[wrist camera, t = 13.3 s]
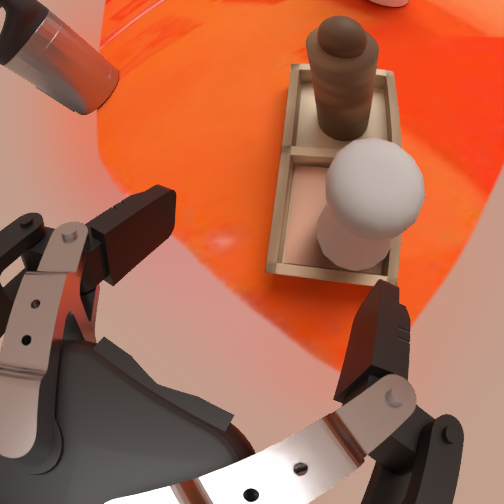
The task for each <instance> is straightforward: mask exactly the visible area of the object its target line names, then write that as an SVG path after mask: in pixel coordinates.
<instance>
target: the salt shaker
mask: <svg viewBox="0 0 504 504" xmlns="http://www.w3.org/2000/svg"><path fill="white" fill-rule="evenodd" d="M424 198H425V193H424V180H423V175H422V173H421V171H420V170H419V168H418V166H417V164H416V162H415V161H414V159H413V157H412V156H410V155H409V154H408V153H407V152H406V151H404V150H403V149H402V148H401V147H399V146H398V145H397V144H396V143H393V142H389V141H385V140H382V139H378V138H368V139H360V140H354V141H352V142H351V143H350V144H348V145H347V146H345V147H344V148H342V149H341V150H340V151H338V152H337V154H336V156H335V158H334V160H333V161H332V163H331V165H330V167H329V169H328V171H327V173H326V200H327V202H328V203H327V204H326V205H325V207H324V209H323V210H322V212H321V214H320V216H319V218H318V219H317V239H318V241H319V244H320V247H321V249H322V252H323V254H324V255H325V256H326V257H327V258H329V259H330V260H331V261H332V262H333V263H334V264H335V265H337V266H339V267H342V268H345V269H348V270H351V271H358V270H363V269H369V268H372V267H374V266H375V265H376V264H378V263H379V262H380V261H382V260H383V259H384V258H385V257H386V255H387V253H388V251H389V249H390V247H391V245H392V243H393V240H394V238H395V237H397V236H399V235H400V234H401V233H402V232H404V231H405V230H406V229H408V228H409V227H410V226H411V225H413V224H414V223H415V221H416V219H417V216H418V214H419V211H420V209H421V206H422V204H423V201H424Z"/></svg>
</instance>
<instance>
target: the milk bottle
mask: <svg viewBox="0 0 504 504" xmlns="http://www.w3.org/2000/svg"><path fill="white" fill-rule="evenodd" d="M369 1H371V2H374V3H376V4H380V5H384V6H390V7H400V6H404V5H406V4H407V3H408V1H409V0H369Z"/></svg>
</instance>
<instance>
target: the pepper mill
mask: <svg viewBox="0 0 504 504" xmlns="http://www.w3.org/2000/svg"><path fill="white" fill-rule="evenodd" d="M306 47H307V53H308V58H309V64H310V70H311V76H312V82H313V89H314V96H315V103H316V110H317V118H318V124H319V126H320V128H321V130H322V131H323V132H324V133H325V134H326V135H328V136H329V137H331V138H333V139H335V140H339V141H352V140H355V139H357V138H359V137H361V136H362V135H363V134H364V133H365V132H366V130H367V127H368V123H369V117H370V111H371V105H372V98H373V91H374V84H375V77H376V69H377V61H378V52H379V48H378V44H377V42H376V41H375V39H374V38H373V37H372V36H371V35H370V34H369V33H367V32H366V31H364V29H363V28H362V26H361V25H360V24H359V23H358V22H356V21H355V20H353V19H351V18H349V17H345V16H333V17H330V18H328V19H326V20H325V21H323V22H322V23H321V25H320V26H319V28H317V29H315V30H314V31H312V32H311V33H310V34H309V36H308V37H307V40H306Z"/></svg>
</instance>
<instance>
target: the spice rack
mask: <svg viewBox="0 0 504 504" xmlns="http://www.w3.org/2000/svg"><path fill="white" fill-rule="evenodd" d="M368 138H378V139H382V140H385V141H389V142H393V143H396V144H397V145H398V146H399V147H401V132H400V120H399V109H398V101H397V93H396V85H395V78H394V72H393V71H387V70H380V69H376V77H375V84H374V91H373V98H372V105H371V111H370V117H369V123H368V127H367V130H366V132H365V133H364V134H363V135H362V136H361V137H359V138H357V139H355V140H360V139H368ZM352 141H354V140H352ZM352 141H339V140H335V139H333V138H331V137H329V136H328V135H326V134H325V133H324V132H323V131H322V130H321V128H320V126H319V124H318V118H317V110H316V103H315V96H314V89H313V82H312V76H311V70H310V64H291V72H290V81H289V90H288V98H287V107H286V115H285V124H284V132H283V140H282V148H281V156H280V164H279V172H278V180H277V188H276V195H275V203H274V211H273V218H272V225H271V233H270V240H269V247H268V255H267V262H266V269H265V272H267V273H272V274H278V275H286V276H293V277H301V278H309V279H316V280H324V281H332V282H340V283H348V284H357V285H365V286H373V287H374V285H375V284H376V282H377V281H378V280H379V279H382V280H384V281H386V282H388V283H391V284H393V285H395V286H397V278H398V269H399V258H400V246H401V234H400V235H399V236H397V237H395V238H394V240H393V243H392V245H391V247H390V249H389V251H388V253H387V255H386V257H385V258H384V259H383V260H382V261H380V262H379V263H378V264H376V265H375V266H374V267H372V268H369V269H363V270H358V271H351V270H348V269H345V268H342V267H339V266H337V265H335V264H334V263H333V262H332V261H331V260H330V259H329V258H327V257H326V256H325V255H324V254H323V252H322V249H321V247H320V244H319V241H318V239H317V219H318V218H319V216H320V214H321V212H322V210H323V209H324V207H325V205H326V204H327V203H328V202H327V200H326V173H327V171H328V169H329V167H330V165H331V163H332V161H333V160H334V158H335V156H336V154H337V152H338V151H340V150H341V149H342V148H344V147H345V146H347V145H348V144H350V143H351V142H352ZM401 148H402V147H401Z"/></svg>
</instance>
